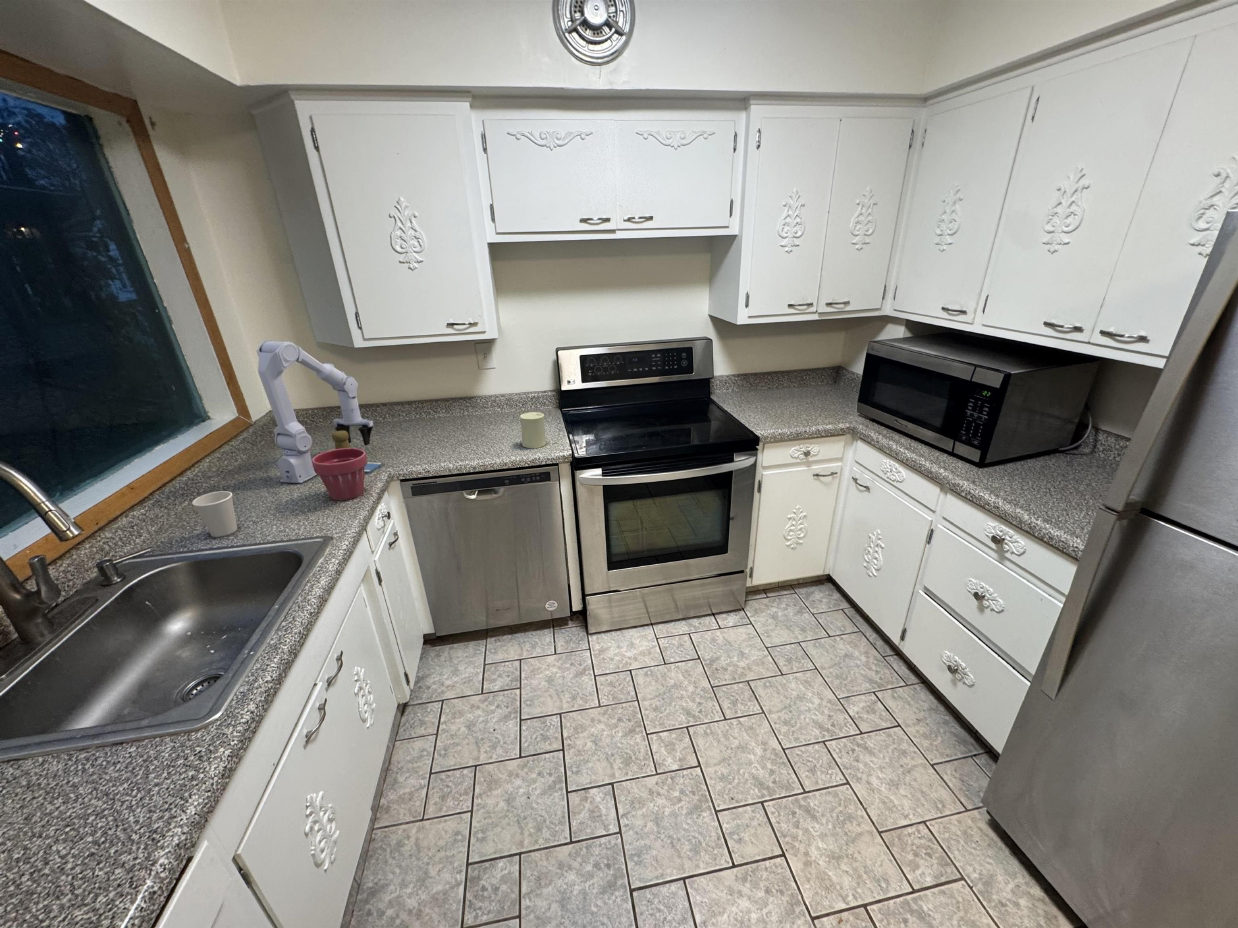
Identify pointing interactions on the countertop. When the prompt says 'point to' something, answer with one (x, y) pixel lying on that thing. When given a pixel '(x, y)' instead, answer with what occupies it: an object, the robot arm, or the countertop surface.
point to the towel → (371, 466)
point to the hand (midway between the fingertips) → (357, 444)
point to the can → (533, 430)
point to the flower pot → (341, 472)
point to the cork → (341, 439)
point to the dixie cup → (217, 512)
